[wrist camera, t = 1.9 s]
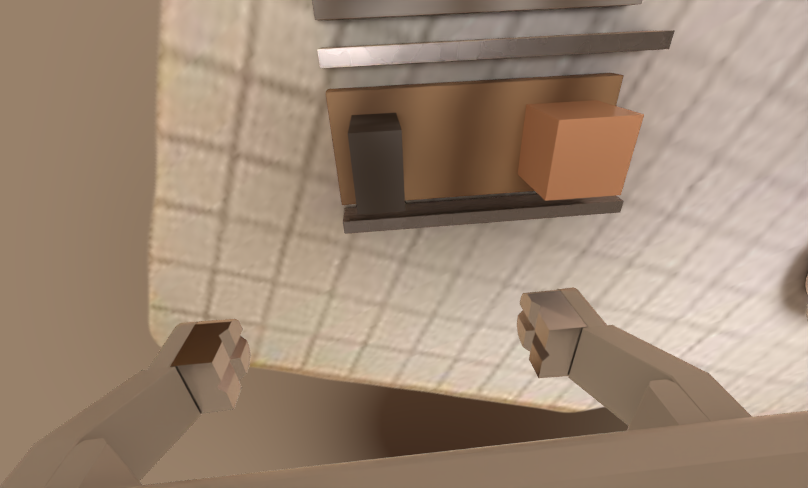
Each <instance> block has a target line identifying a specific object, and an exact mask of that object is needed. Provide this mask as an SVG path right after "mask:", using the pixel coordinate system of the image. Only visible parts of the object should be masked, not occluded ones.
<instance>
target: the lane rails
mask: <svg viewBox="0 0 808 488" xmlns="http://www.w3.org/2000/svg"><path fill="white" fill-rule="evenodd" d="M673 34H674V31H632V32H613V33H593V34H574V35H555V36H536V37H517V38H497V39H478V40H459V41H440V42H420V43H401V44H382V45H363V46H344V47H324V48H320V49H317V50H318V57H319V63H320V68H331V67H349V66H367V65H386V64H404V63H422V62H440V61H459V60H477V59H495V58H513V57H532V56H550V55H568V54H586V53H605V52H623V51H641V50H659V49H669V47H670V44H671V41H672V37H673ZM622 205H623V200H622V199H620V198H619V197H617V196H616V195H615V196H602V197H589V198H575V199H562V200H548V201H545V200H544V199H543V198H542V197H541V196H540V195H539V194H528V195H514V196H501V197H487V198H474V199H460V200H447V201H433V202H420V203H406V204H405V211H401V212H388V213H375V214H361V215H358V214H357V207H352V208H345V211H344V218H343V226H344V233H358V232H371V231H384V230H397V229H410V228H423V227H436V226H449V225H462V224H475V223H488V222H501V221H514V220H526V219H539V218H552V217H565V216H578V215H591V214H604V213H617V212H620V211H621V208H622Z"/></svg>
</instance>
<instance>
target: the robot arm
mask: <svg viewBox="0 0 808 488" xmlns="http://www.w3.org/2000/svg"><path fill="white" fill-rule="evenodd" d="M520 305H521V307H522V309H523V311H522V312H521V313H520V314H519V315H518V319H517V330H518V336H519V339H520V341H521V344H522V346H523V347H524V348H525V349H527V350H528V351H530V357H529V360H530V362H531V364H532V366H533V368H534V370H535V372H536V374H537V376H538V378H547V377H560V376H569V378H570V379H571V380H572V381H574V382H575V383H576V384H577V385H579V386H580V387H581V388H582V389H583V390H585V391H586V392H587V393H588V394H590V395H591V396H592V397H593V398H595V399H596V400H597V401H598V402H600V403H601V404H602V405H603V406H605V407H606V408H607V409H608V410H610V411H611V412H612V413H613V414H615V415H616V416H617V417H618V418H620V419H621V420H622V421H623V422H625V423H626V424H627V425H628V426H629V427H628V429H627V431H621V432H612V433H603V434H594V435H585V436H577V437H567V438H558V439H549V440H540V441H532V442H523V443H514V444H505V445H497V446H488V447H479V448H470V449H461V450H453V451H444V452H435V453H426V454H417V455H408V456H399V457H390V458H382V459H372V460H363V461H354V462H346V463H336V464H327V465H318V466H309V467H300V468H291V469H283V470H273V471H265V472H256V473H246V474H237V475H229V476H220V477H211V478H202V479H193V480H185V481H175V482H166V483H157V484H148V485H142V484H141V483H140V480H141V479H142V478H143V477H144V476H145V475H146V474H147V473H148V472H149V471H150V470H151V468H152V467H153V466H154V465H155V464H156V463H157V462H158V461H159V460H160V459H161V458H162V457H163V456H164V455H165V453H167V451H168V450H169V449H170V448H171V447H172V446H173V445H174V444H175V443H176V442H177V441H178V440H179V439H180V437H181V436H182V435H183V434H184V433H185V432H186V431H187V430H188V429H189V428H190V427H191V426H192V425H193V424H194V423H195V422H196V420H197V419H198V418H199V417H200V416H201V413H210V412H218V411H225V410H233V409H234V408H235V405H236V402H237V400H238V397H239V394H240V391H241V388H242V387H241V385H240V383H239V380H241V379H242V378H243V377H244V376H245V375H246V374H247V371H248V368H249V365H250V348H249V344H248V342H247V340H246V339H244V338H243V337H241V336H240V335H241V332H242V330H243V328H242V326H241V324H240V321H239V320H237V319H225V320H210V321H199V322H186V323H180V324H178V325H177V326H176V327H175V328H174V330H173V331H172V333H171V334H170V336H169V337H168V339H167V340H166V342H165V343H164V345H163V346H162V348H161V350H160V351H159V352H158V354H157V356H156V357H155V359H154V360H153V362H152V363H151V365H150V366H149V368H148V369H147V370H141V371H139V372H138V373H137V374H135V375H133V376H132V377H131V378H129V379H128V380H126V381H125V382H123V383H122V384H120V385H119V386H117V387H116V388H115V389H113V390H112V391H110V392H109V393H107V394H106V395H104V396H103V397H102V398H100V399H99V400H97V401H96V402H94V403H93V404H92V405H90V406H88V407H87V408H85V409H84V410H83V411H81V412H80V413H78V414H77V415H75V416H74V417H72V418H71V419H70V420H68V421H66V422H65V423H64V424H62V425H61V426H59V427H58V428H56V429H55V430H53V431H52V432H50V433H49V434H48V435H46V436H45V437H43V438H42V439H40V440H39V441H37V442H36V443H34V445H33V446H32V447H31V448H30V450H29V451H28V452H27V453H26V454H25V456H24V457H23V458H22V459H21V461H20V462H19V463H18V464H17V465H16V467H15V468H14V469H13V470H12V472H11V473H10V474H9V475H8V477H7V478H6V479H5V480H4V481H3V483H2V484H1V485H0V488H808V411H800V412H791V413H782V414H773V415H764V416H755V417H752V416H751V415H750V414H749V413H748V412H747V411H746V410H745V409H744V408H743V407H742V406H741V405H740V404H739V403H738V402H737V401H736V400H735V399H734V398H733V397H732V396H731V395H730V394H729V393H728V392H727V391H726V390H725V389H724V388H723V387H722V386H721V385H720V384H719V383H718V382H717V381H716V380H715V379H714V378H713V377H712V376H711V375H710V374H709V373H707V372H705V371H703V370H701V369H699V368H697V367H695V366H693V365H691V364H689V363H687V362H685V361H683V360H681V359H679V358H677V357H675V356H673V355H671V354H669V353H667V352H665V351H663V350H661V349H659V348H657V347H655V346H653V345H651V344H649V343H647V342H645V341H643V340H641V339H639V338H637V337H635V336H633V335H631V334H629V333H627V332H625V331H623V330H621V329H619V328H617V327H615V326H613V325H608V326H607V324H606V323H605V322H604V321H603V320H602V318H601V317H600V316H599V315H598V314H597V312H596V311H595V310H594V309H593V308H592V306H591V305H590V304H589V303H588V302H587V300H586V299H585V298H584V297H583V295H582V294H581V293H580V292H579V291H578V290H577V289H575V288H566V289H557V290H550V291H539V292H529V293H523V294H522V296H521V300H520Z"/></svg>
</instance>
